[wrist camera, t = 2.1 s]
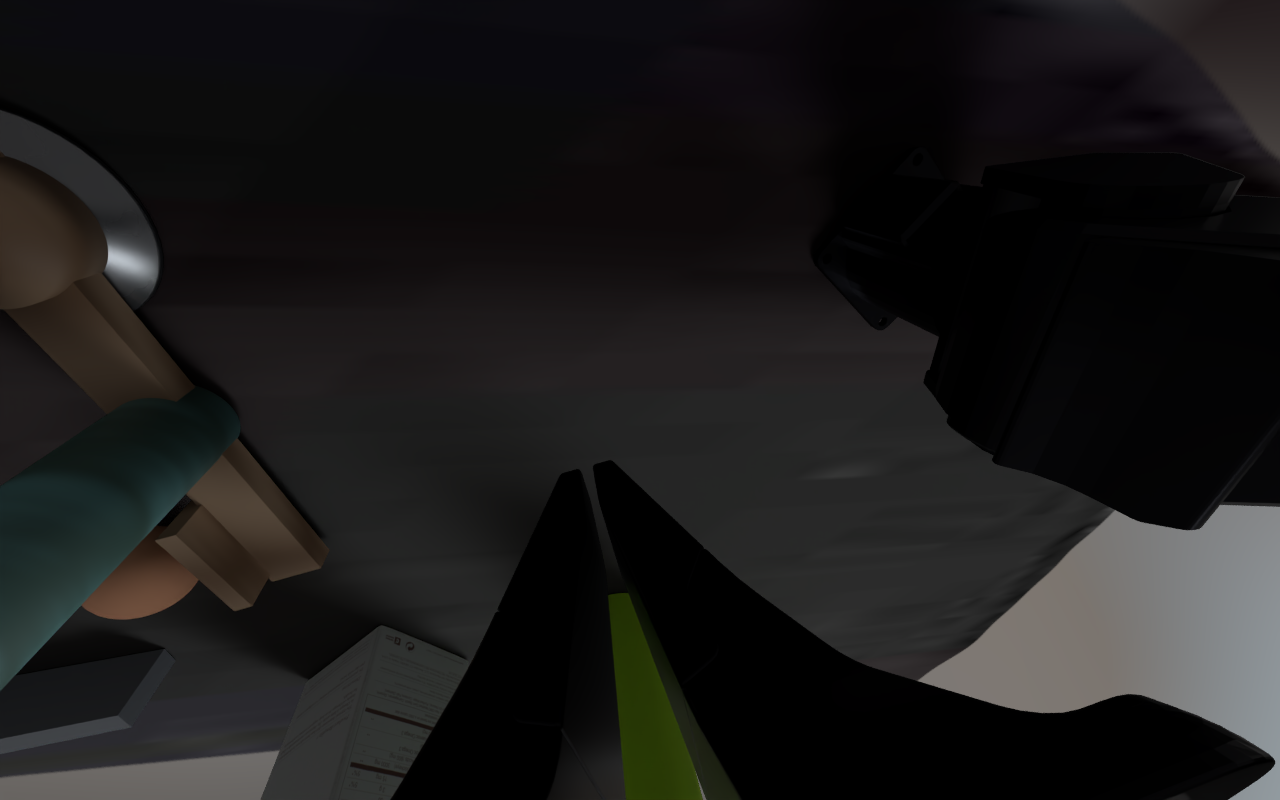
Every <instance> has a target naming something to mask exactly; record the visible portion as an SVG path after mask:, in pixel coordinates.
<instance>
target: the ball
mask: <svg viewBox="0 0 1280 800" xmlns="http://www.w3.org/2000/svg"><path fill="white" fill-rule="evenodd" d="M166 528H167V526H155V527H154V528H153V529H152V531H151V532H150V533H149V534H148V535H147V536H146V537H145V538H144V539H143V540H142V541H141V542H140V543H139V544H138V545H137V546H136V548H135V549H134V550H133V551H132V552H131V553H130V554H129V555H128V556H127V557H126V558H125V559H124V560H123V561H122V562H121V563H120V564H119V566H118V567H117V568H116V569H115V570H114V571H113V572H112V573H111V574H110V575H109V576H108V577H107V578H106V579H105V580H104V581H103V583H102V584H101V585H100V586H99V587H98V588H97V589H96V590H95V591H94V592H93V593H92V594H91V595H90V596H89V597H88V598H87V600H86V601H85V602H84V603H83V604H82V606H83V607H84V608H85V609H86V610H88V611H90V612H91V613H93V614H95V615H98V616H101V617H104V618H109V619H134V618H140V617H145V616H148V615H152V614H154V613H157V612H160V611H162V610H164V609H166V608H168V607H170V606H172V605H173V604H175V603H176V602H178V601H179V600H181V599H182V598H183V597H184V596H185V595H186V594H187V593H189V592H190V591H191V589H192V588H193V587H194V586H195V584H196V583H197V582H198V579H197V578H196V577H195V576H194V575H193V574H192V573H191V572H189V571H188V570H187V569H186V568H185V567H184V566H183V565H182V564H180V563H179V562H178V561H177V560H176V559H175V558H174V557H173V556H171V555H170V554H169V553H168V552H167V551H166V550H165V549H164V548H162V547H161V546H160V545H159V544H158V543H157V542H156V541H155V540H156V539H157V538H158V537H159V535H160V534H161V533H162V532H163V531H164V530H165V529H166Z"/></svg>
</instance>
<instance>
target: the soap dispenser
mask: <svg viewBox="0 0 1280 800" xmlns="http://www.w3.org/2000/svg"><path fill="white" fill-rule="evenodd" d="M608 600H609V612H610V623H611V635H612V646H613V657H614V669H615V680H616V692H617V703H618V714H619V726H620V737H621V749H622V760H623V771H624V783H625V794H626V800H703V798H702V794H701V790H700V787H699V783H698V779H697V776H696V772H695V768H694V765H693V763H692V760H691V758H690V755H689V752H688V750H687V747H686V744H685V742H684V739H683V736H682V734H681V731H680V728H679V726H678V723H677V721H676V718H675V715H674V713H673V710H672V707H671V705H670V702H669V699H668V697H667V694H666V691H665V689H664V686H663V684H662V681H661V678H660V676H659V673H658V670H657V668H656V665H655V662H654V660H653V657H652V654H651V652H650V649H649V647H648V644H647V641H646V639H645V636H644V633H643V631H642V628H641V625H640V623H639V620H638V617H637V615H636V612H635V610H634V607H633V604H632V602H631V599H630V596H629V594H628V593H616V594H610V595H608Z"/></svg>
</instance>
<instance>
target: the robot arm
mask: <svg viewBox="0 0 1280 800" xmlns="http://www.w3.org/2000/svg"><path fill="white" fill-rule="evenodd" d="M915 155H916V156H917V158H916V161H915V163H914V164H913V158H914V157H915ZM1243 179H1244V176H1243V175H1242V174H1239V173H1236V172H1233V171H1231V170H1228V169H1225V168H1222V167H1219V166H1216V165H1213V164H1210V163H1207V162H1205V161H1202V160H1199V159H1196V158H1193V157H1190V156H1187V155H1184V154H1181V153H1089V154H1081V155H1073V156H1065V157H1057V158H1048V159H1040V160H1032V161H1024V162H1016V163H1008V164H1000V165H992V166H986V167H985V170H984V173H983V177H982V180H981V184H984V185H983V187H979V186H970V185H961V184H959V182H957V181H952V180H945V179H944V177H943V176H942V174H941V173H940V171H939V169H938V168H937V166H936V164H935V163H934V161H933V159H932V158H931V156H930V154H929V153H928V151H927V150H926V149H925V148H924V147H912V148H910V149H908V150H907V151H906V152H905V153H904V154H903V156H902V157H901V158H900V159H899V160H898V161H897V162H896V163H895V164H894V166H893V167H892V168H891V169H890V170H889V171H888V172H887V173H886V174H885V175H883V176H882V177H881V178H880V179H879V180H878V181H877V182H876V183H875V184H874V186H873V187H872V188H871V189H870V190H869V191H868V192H867V193H866V194H865V196H864V197H863V198H862V199H861V200H860V201H859V202H858V203H857V204H856V206H855V207H854V208H853V209H852V210H851V211H850V212H849V213H848V215H847V216H846V217H845V218H844V220H843V222H842V223H841V224H840V225H839V227H838V228H837V229H836V230H835V231H834V232H833V233H832V234H831V235H830V237H829V238H828V239H827V240H826V241H825V242H824V243H823V244H822V245H821V247H820V248H819V249H818V250H817V251H816V253H815V254H814V257H813V262H814V264H815V266H816V267H817V268H818V269H819V270H820V271H821V272H822V273H823V274H824V275H825V276H826V278H827V279H828V280H829V281H830V282H831V283H832V284H833V285H834V286H835V287H836V288H837V290H838V291H839V292H840V293H841V294H842V295H843V296H844V297H845V298H846V299H847V300H848V302H849V303H850V304H851V305H852V306H853V307H854V308H855V309H856V310H857V311H858V312H859V314H860V315H861V316H862V317H863V318H864V319H865V320H866V321H867V322H868V323H869V324H870V326H872V327H873V328H875V329H877V330H883V329H885V328H887V327H888V326H889V325H890V324H891V323H892V322H893V321H894V320H895V319H896V318H897V317H899V318H901V319H903V320H905V321H908V322H910V323H912V324H914V325H916V326H918V327H920V328H922V329H924V330H926V331H928V332H930V333H932V334H934V335H936V336H938V337H939V339H938V343H937V346H936V350H935V353H934V357H933V360H932V364H931V367H930V370H928V371H927V372H926V375H925V378H924V384H925V385H926V387H927V388H928V389H929V390H930V392H931V393H932V394H933V395H934V397H935V398H936V400H937V401H938V403H939V404H940V405H941V407H942V408H943V410H944V411H945V413H947V414H948V418H947V423H948V425H949V426H950V427H951V428H952V429H953V430H955V431H956V432H958V433H959V434H960V435H962V436H963V437H965V438H966V439H968V440H969V441H971V442H972V443H974V444H975V445H976V446H978V447H979V448H981V449H982V450H984V451H986V452H988V453H990V454H992V455H994V456H993V458H992V461H993V462H994V463H995V464H997V465H1000V466H1004V467H1008V468H1012V469H1016V470H1020V471H1024V472H1029V473H1033V474H1035V475H1038V476H1041V477H1044V478H1046V479H1049V480H1052V481H1055V482H1057V483H1060V484H1063V485H1066V486H1068V487H1070V488H1072V489H1074V490H1076V491H1078V492H1081V493H1083V494H1085V495H1087V496H1089V497H1091V498H1093V499H1095V500H1097V501H1099V502H1101V503H1103V504H1105V505H1107V506H1109V507H1110V508H1112V509H1114V510H1116V511H1118V512H1120V513H1122V514H1124V515H1126V516H1128V517H1130V518H1132V519H1135V520H1137V521H1140V522H1144V523H1149V524H1155V525H1160V526H1165V527H1171V528H1176V529H1182V530H1196V529H1200V528H1201V527H1202V526H1203V525H1204V524H1205V523H1206V521H1207V520H1208V519H1209V518H1210V516H1211V515H1212V514H1213V513H1214V512H1215V510H1216V509H1217V508H1218V507H1219V505H1244V506H1245V505H1246V506H1276V507H1280V198H1276V197H1259V196H1242V195H1235V193H1236V191H1237V190H1238V188H1239V186H1240V184H1241V183H1242V181H1243ZM826 254H827V259H826V260H825V261H824V262H823V261H822V259H823V257H824V255H826ZM881 318H882V320H881V322H879V321H880V319H881ZM593 471H594V477H595V483H596V488H597V494H598V499H599V503H600V507H601V510H602V514H603V517H604V520H605V523H606V527H607V530H608V533H609V536H610V540H611V543H612V546H613V550H614V553H615V556H616V559H617V563H618V566H619V569H620V572H621V575H622V578H623V580H624V583H625V586H626V588H627V591H628V594H629V596H630V599H631V602H632V604H633V607H634V610H635V612H636V615H637V617H638V620H639V623H640V625H641V628H642V631H643V633H644V636H645V639H646V641H647V644H648V647H649V649H650V652H651V654H652V657H653V660H654V662H655V665H656V668H657V670H658V673H659V676H660V678H661V681H662V684H663V686H664V689H665V691H666V694H667V697H668V699H669V702H670V705H671V707H672V710H673V713H674V715H675V718H676V721H677V723H678V726H679V728H680V731H681V734H682V736H683V739H684V742H685V744H686V747H687V750H688V752H689V755H690V758H691V760H692V763H693V765H694V768H695V771H696V773H697V776H698V779H699V781H700V784H701V786H702V789H703V792H704V794H705V797H706V799H707V800H1228V799H1230V798H1231V797H1233V796H1234V795H1236V794H1237V793H1239V792H1240V791H1242V790H1243V789H1245V788H1246V787H1248V786H1249V785H1251V784H1252V783H1254V782H1255V781H1257V780H1258V779H1260V778H1261V777H1262V776H1264V775H1265V774H1266V773H1267V772H1269V771H1270V770H1271V769H1272V768H1273V766H1274V765H1275V760H1274V758H1272V757H1271V756H1270V755H1269V754H1268V753H1266V752H1265V751H1263V750H1262V749H1260V748H1259V747H1257V746H1255V745H1254V744H1252V743H1250V742H1249V741H1247V740H1246V739H1244V738H1242V737H1241V736H1239V735H1237V734H1235V733H1233V732H1230V731H1229V730H1227V729H1225V728H1223V727H1222V726H1220V725H1217V724H1215V723H1212V722H1210V721H1208V720H1206V719H1204V718H1202V717H1200V716H1197V715H1195V714H1192V713H1189V712H1186V711H1183V710H1181V709H1178V708H1176V707H1173V706H1171V705H1168V704H1165V703H1162V702H1159V701H1156V700H1154V699H1151V698H1148V697H1145V696H1142V695H1133V694H1126V695H1120V696H1115V697H1112V698H1109V699H1106V700H1103V701H1100V702H1098V703H1095V704H1092V705H1090V706H1087V707H1084V708H1081V709H1078V710H1074V711H1069V712H1064V713H1036V712H1028V711H1020V710H1015V709H1011V708H1006V707H1003V706H998V705H995V704H992V703H989V702H985V701H982V700H978V699H975V698H972V697H969V696H965V695H962V694H959V693H955V692H952V691H948V690H945V689H941V688H938V687H935V686H932V685H928V684H925V683H922V682H919V681H915V680H912V679H909V678H905V677H902V676H899V675H895V674H892V673H889V672H885V671H882V670H879V669H875V668H872V667H869V666H867V665H864V664H862V663H860V662H857V661H855V660H853V659H851V658H849V657H847V656H846V655H844V654H842V653H840V652H839V651H837V650H835V649H834V648H832V647H831V646H830V645H828V644H827V643H825V642H824V641H822V640H821V639H820V638H818V637H817V636H816V635H814V634H813V633H811V632H810V631H809V630H807V629H806V628H805V627H803V626H802V625H800V624H799V623H798V622H796V621H795V620H794V619H792V618H791V617H789V616H788V615H787V614H785V613H784V612H783V611H781V610H780V609H778V608H777V607H776V606H774V605H773V604H772V603H770V602H769V601H767V600H766V599H765V598H763V597H762V596H761V595H759V594H758V593H757V592H755V591H754V590H753V589H752V588H750V587H749V586H748V585H746V584H745V583H744V582H742V581H741V580H740V579H739V578H737V577H736V576H735V575H734V574H733V573H732V572H731V571H729V570H728V569H727V568H726V567H725V566H724V565H723V564H722V563H720V562H719V561H718V560H717V559H716V558H715V557H714V556H713V555H712V554H711V553H710V552H709V551H708V550H706V549H704V547H703V546H702V545H701V544H700V543H699V542H698V541H697V540H696V539H695V538H694V537H693V536H691V535H690V534H689V533H688V532H687V531H686V530H685V529H684V528H683V527H682V526H681V525H680V524H679V523H678V522H677V521H676V520H675V519H673V518H672V517H671V516H670V515H669V514H668V513H667V512H666V511H665V510H664V509H663V508H662V507H661V506H660V505H659V504H658V503H657V502H656V501H654V500H653V499H652V498H651V497H650V496H649V495H648V494H647V493H646V492H645V491H644V490H643V489H642V488H641V487H640V486H639V485H638V484H636V483H635V482H634V481H633V480H632V479H631V478H630V477H629V476H628V475H627V474H626V473H625V472H624V471H623V470H622V469H621V468H620V467H619V466H617V465H616V464H615V463H614V462H613V461H611V460H608V461H605V462H601V463H597V464H595V465H594V466H593ZM390 800H626V794H625V783H624V771H623V760H622V749H621V737H620V726H619V714H618V703H617V692H616V680H615V669H614V657H613V646H612V635H611V623H610V612H609V600H608V589H607V579H606V571H605V565H604V560H603V555H602V551H601V546H600V541H599V537H598V532H597V528H596V523H595V518H594V514H593V509H592V505H591V501H590V497H589V494H588V491H587V488H586V485H585V482H584V479H583V475H582V473H581V471H580V470H579V469H576V470H572V471H569V472H565V473H562V474H561V475H560V476H559V478H558V481H557V483H556V485H555V487H554V489H553V491H552V493H551V496H550V498H549V500H548V502H547V504H546V506H545V508H544V511H543V513H542V515H541V517H540V519H539V521H538V523H537V525H536V528H535V530H534V532H533V534H532V536H531V538H530V540H529V543H528V545H527V547H526V549H525V551H524V553H523V555H522V558H521V560H520V562H519V564H518V566H517V568H516V570H515V573H514V575H513V577H512V579H511V581H510V583H509V585H508V588H507V590H506V592H505V594H504V596H503V598H502V600H501V603H500V605H499V607H498V612H496V613H495V615H494V617H493V619H492V621H491V623H490V626H489V628H488V630H487V632H486V634H485V636H484V638H483V640H482V642H481V644H480V646H479V648H478V650H477V652H476V654H475V656H474V658H473V660H472V662H471V664H470V665H469V667H468V669H467V671H466V672H465V674H464V676H463V678H462V680H461V681H460V683H459V685H458V687H457V688H456V690H455V692H454V694H453V696H452V697H451V699H450V701H449V702H448V704H447V706H446V707H445V709H444V711H443V712H442V714H441V716H440V718H439V719H438V721H437V723H436V724H435V726H434V728H433V729H432V731H431V733H430V734H429V736H428V738H427V739H426V741H425V743H424V745H423V746H422V748H421V750H420V751H419V753H418V755H417V756H416V758H415V760H414V761H413V763H412V765H411V767H410V768H409V770H408V772H407V773H406V775H405V777H404V778H403V780H402V782H401V783H400V785H399V786H398V788H397V790H396V791H395V793H394V794H393V796H392V797H391V799H390Z"/></svg>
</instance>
